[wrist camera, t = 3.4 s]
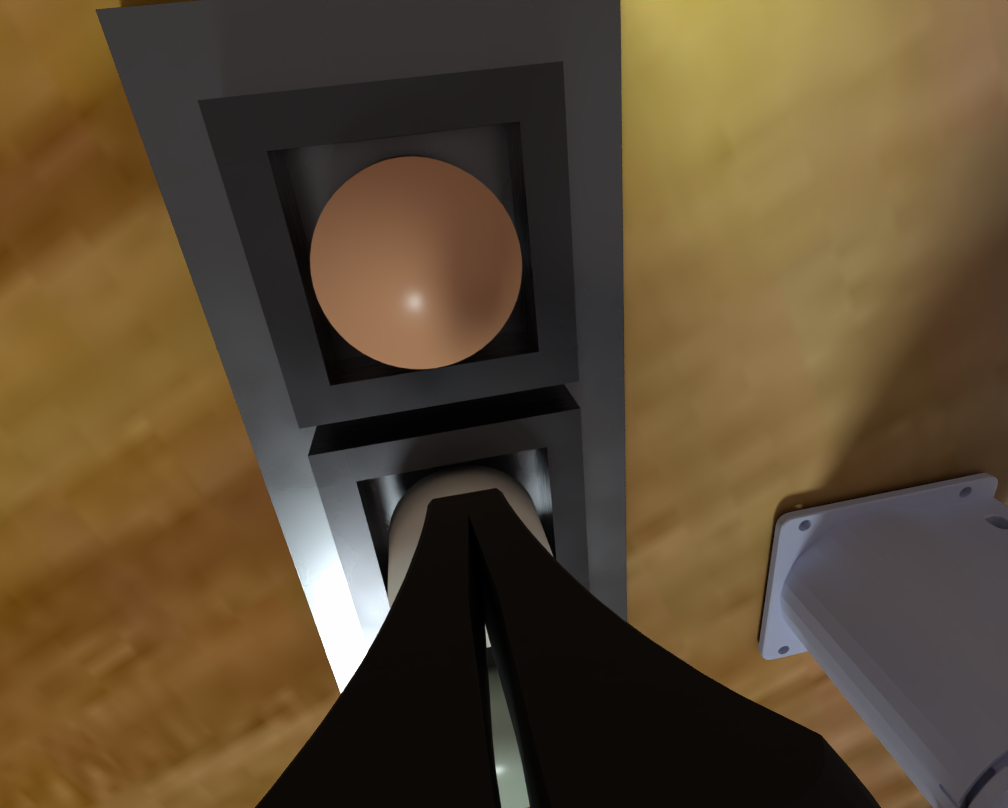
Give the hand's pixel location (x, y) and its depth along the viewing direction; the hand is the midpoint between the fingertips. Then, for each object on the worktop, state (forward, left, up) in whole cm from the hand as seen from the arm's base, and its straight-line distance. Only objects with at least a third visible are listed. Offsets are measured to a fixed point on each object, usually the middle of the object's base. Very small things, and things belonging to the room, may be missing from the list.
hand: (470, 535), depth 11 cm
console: (0, +4, -7) cm, 8 cm away
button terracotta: (0, -4, -6) cm, 7 cm away
